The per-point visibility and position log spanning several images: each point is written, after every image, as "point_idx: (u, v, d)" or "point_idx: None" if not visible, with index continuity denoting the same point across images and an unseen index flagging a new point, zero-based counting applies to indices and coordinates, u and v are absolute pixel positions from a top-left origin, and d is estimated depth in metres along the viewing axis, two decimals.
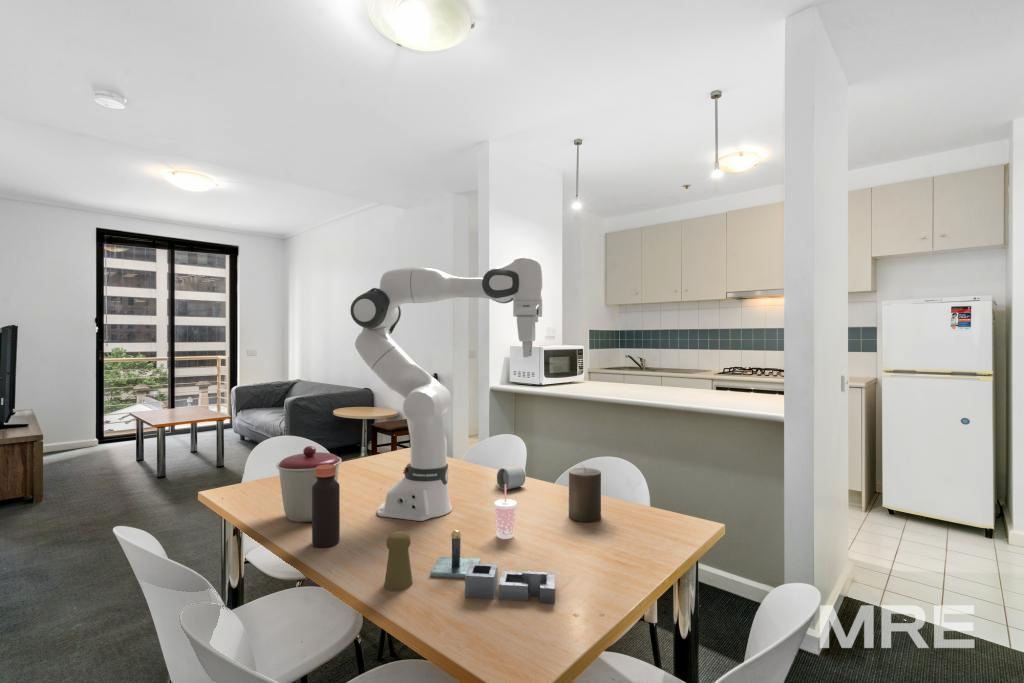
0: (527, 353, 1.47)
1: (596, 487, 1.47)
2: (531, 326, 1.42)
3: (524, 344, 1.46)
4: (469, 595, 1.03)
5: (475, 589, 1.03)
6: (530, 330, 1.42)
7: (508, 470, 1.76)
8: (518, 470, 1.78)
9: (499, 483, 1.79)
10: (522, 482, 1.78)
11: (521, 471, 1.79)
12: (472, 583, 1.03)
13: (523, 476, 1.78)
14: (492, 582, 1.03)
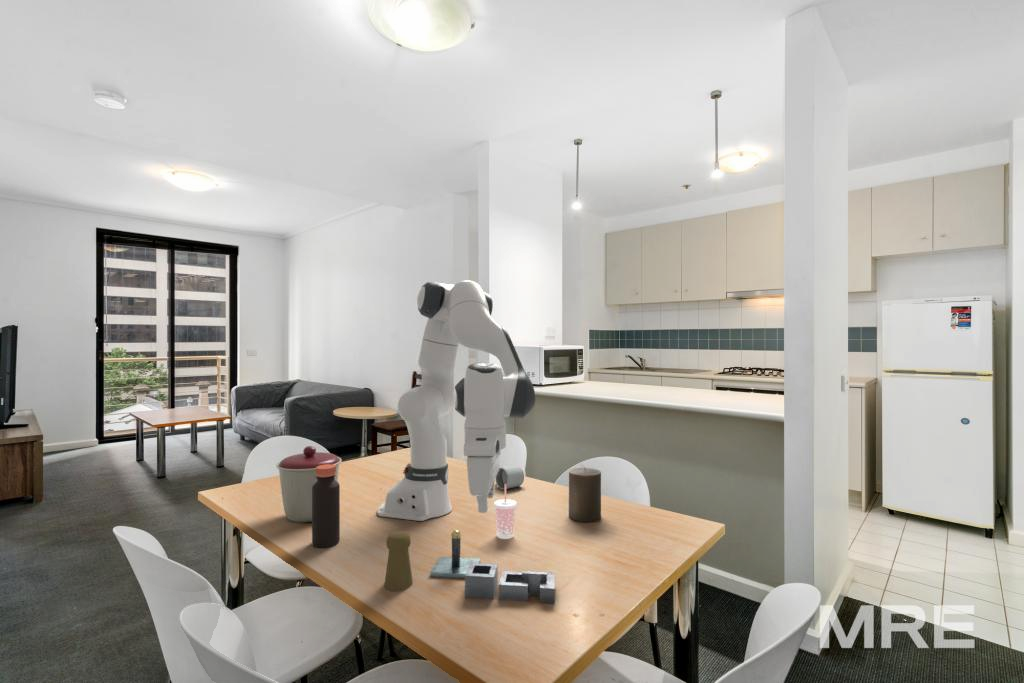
0: (484, 507, 1.01)
1: (596, 487, 1.47)
2: (487, 474, 0.97)
3: (479, 495, 1.00)
4: (469, 595, 1.03)
5: (475, 589, 1.03)
6: (486, 480, 0.97)
7: (507, 470, 1.77)
8: (517, 470, 1.79)
9: (498, 483, 1.80)
10: (521, 482, 1.79)
11: (520, 471, 1.79)
12: (472, 583, 1.03)
13: (522, 476, 1.79)
14: (492, 582, 1.03)
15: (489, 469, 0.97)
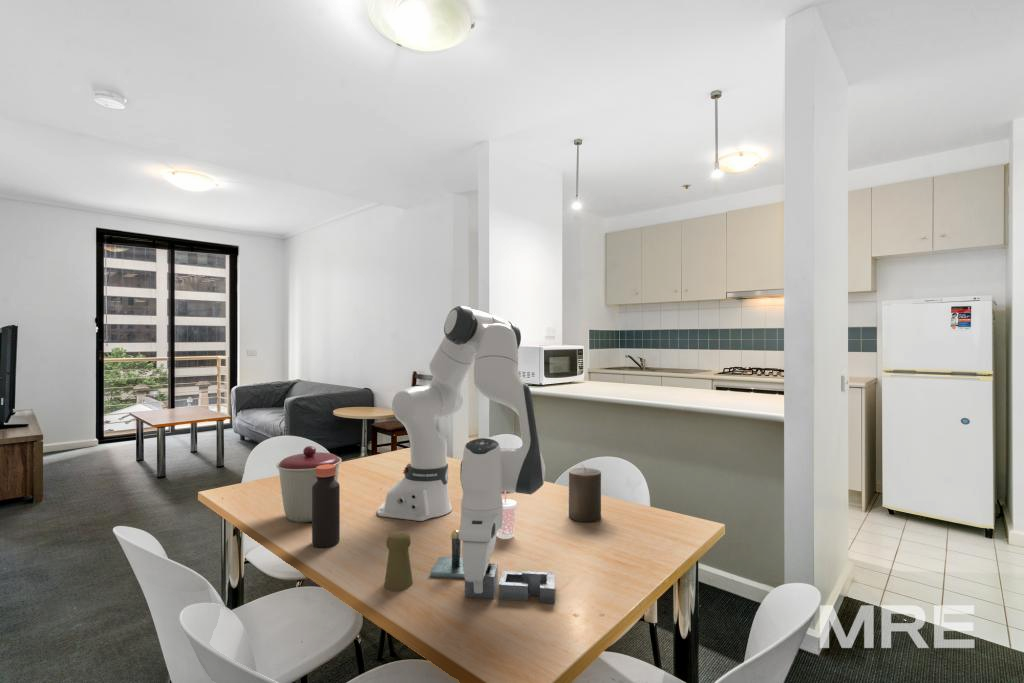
0: (479, 587, 1.02)
1: (596, 487, 1.47)
2: (482, 561, 0.96)
3: None
4: (469, 595, 1.03)
5: None
6: (481, 567, 0.96)
7: None
8: None
9: None
10: None
11: None
12: (472, 583, 1.03)
13: None
14: (492, 582, 1.03)
15: (484, 556, 0.97)
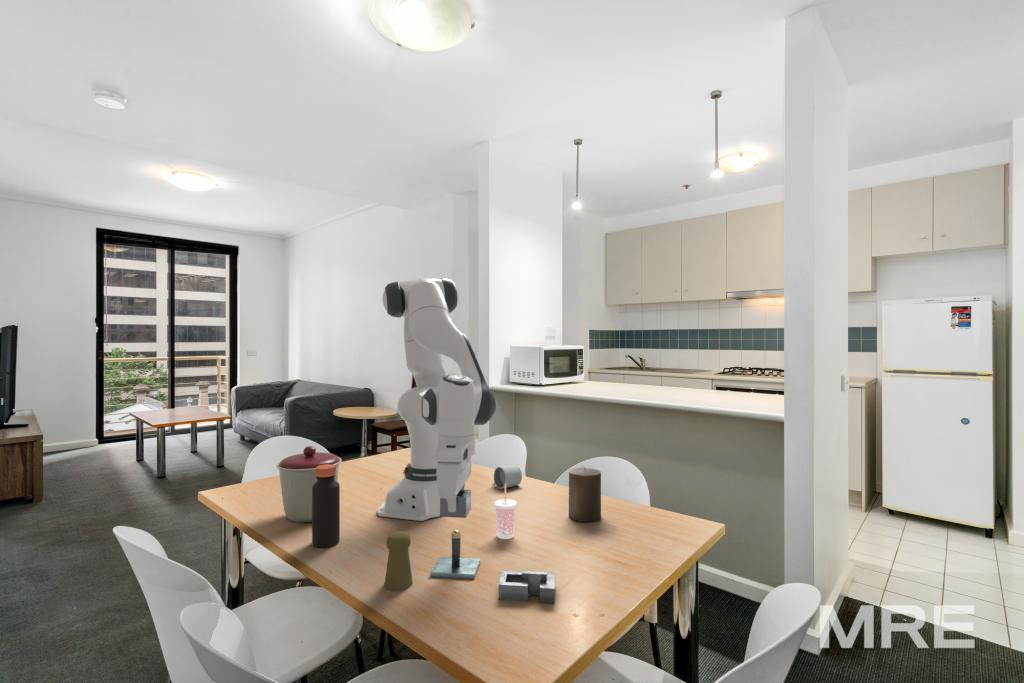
0: (453, 507, 1.11)
1: (596, 487, 1.47)
2: (454, 479, 1.06)
3: None
4: (443, 515, 1.13)
5: None
6: (453, 484, 1.06)
7: (505, 469, 1.78)
8: (515, 469, 1.80)
9: (496, 482, 1.81)
10: (519, 481, 1.80)
11: (518, 470, 1.80)
12: (446, 504, 1.13)
13: (520, 475, 1.80)
14: (465, 502, 1.13)
15: (456, 474, 1.06)
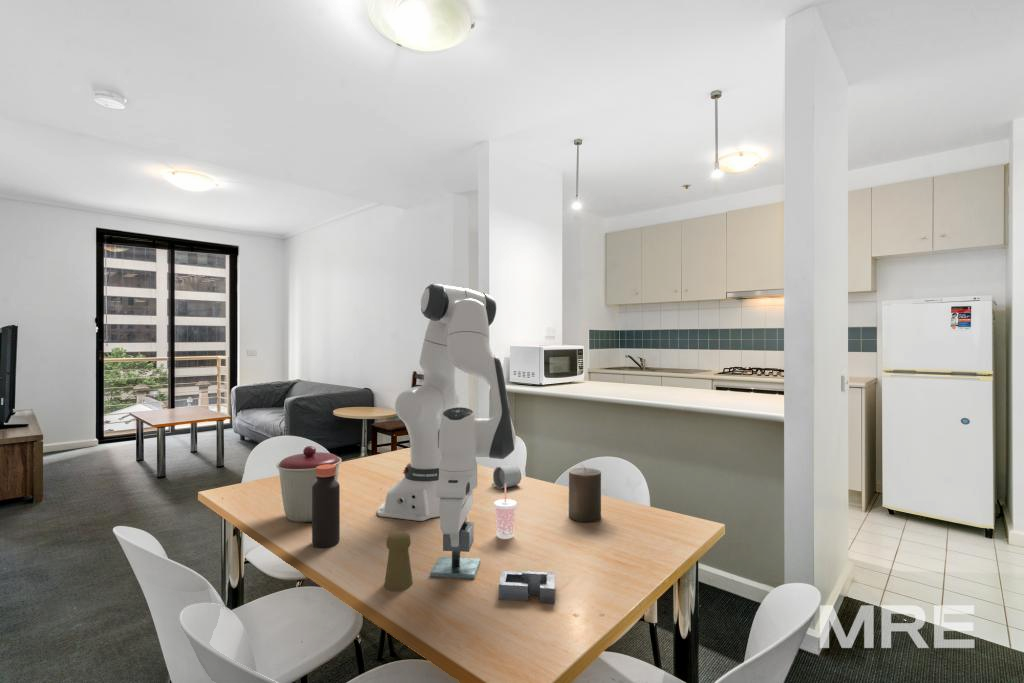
0: (456, 541, 1.11)
1: (596, 487, 1.47)
2: (457, 515, 1.06)
3: None
4: (447, 549, 1.13)
5: None
6: (456, 521, 1.06)
7: (504, 469, 1.78)
8: (514, 469, 1.80)
9: (495, 482, 1.81)
10: (518, 481, 1.80)
11: (517, 470, 1.80)
12: (449, 538, 1.13)
13: (519, 475, 1.80)
14: (467, 536, 1.13)
15: (459, 510, 1.06)
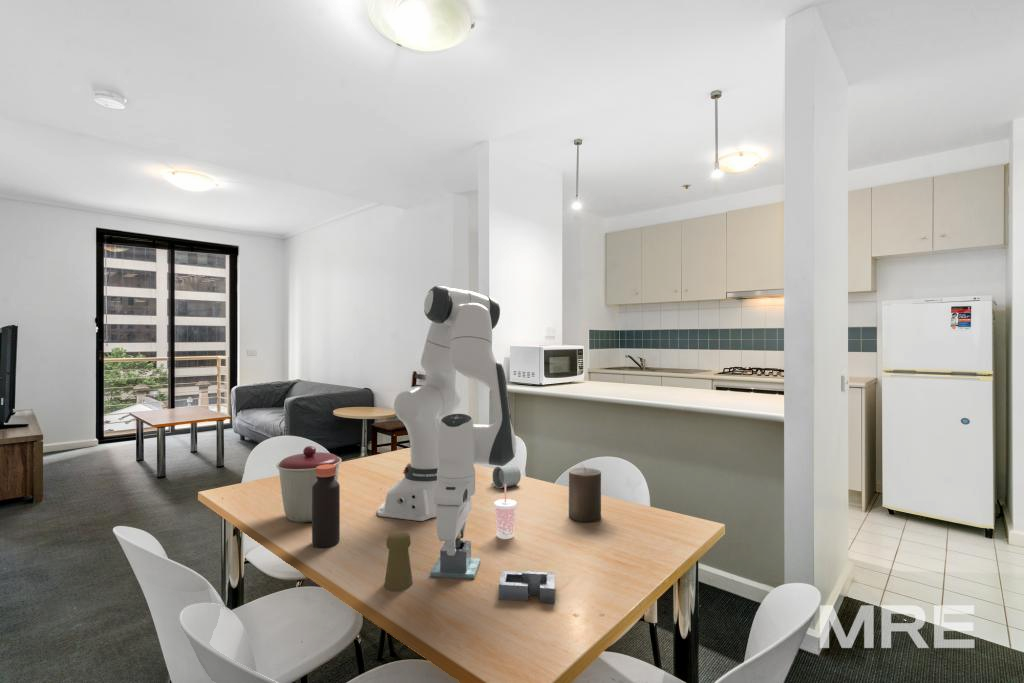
0: (452, 550, 1.10)
1: (596, 487, 1.47)
2: (454, 522, 1.06)
3: None
4: (444, 568, 1.13)
5: (449, 563, 1.13)
6: (453, 528, 1.06)
7: (503, 468, 1.78)
8: (513, 468, 1.80)
9: (495, 481, 1.82)
10: (517, 480, 1.80)
11: (516, 469, 1.81)
12: (447, 557, 1.13)
13: (518, 474, 1.80)
14: (465, 556, 1.13)
15: (456, 518, 1.06)
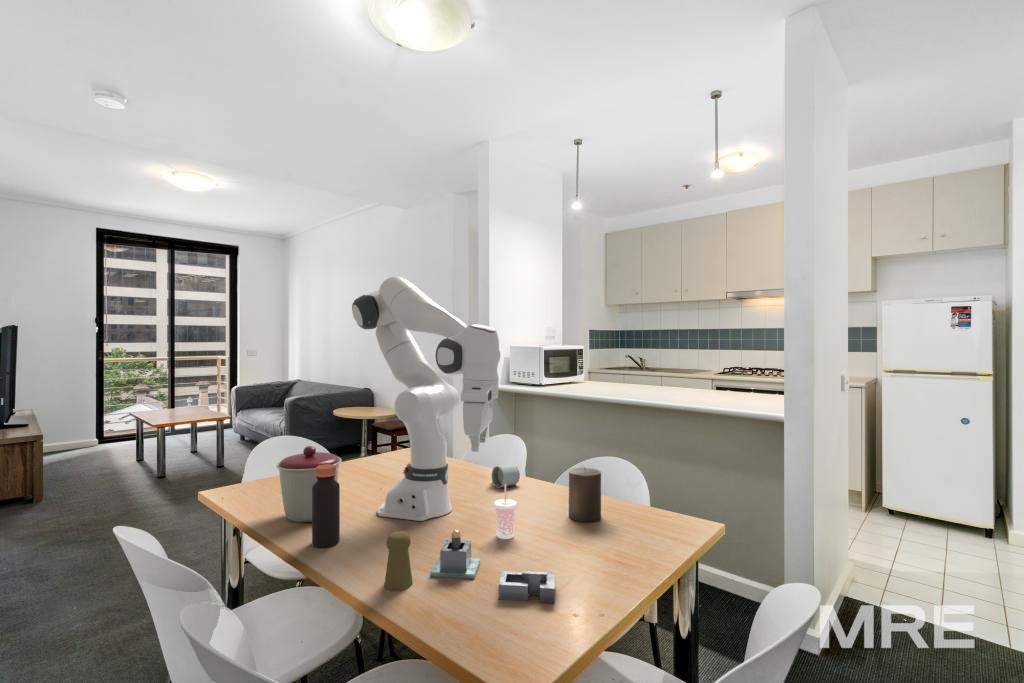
0: (476, 447, 1.18)
1: (596, 487, 1.47)
2: (480, 417, 1.14)
3: (472, 436, 1.17)
4: (444, 568, 1.13)
5: (449, 563, 1.13)
6: (478, 422, 1.13)
7: (502, 468, 1.78)
8: (513, 468, 1.81)
9: (494, 481, 1.82)
10: (516, 480, 1.80)
11: (515, 469, 1.81)
12: (447, 557, 1.13)
13: (517, 474, 1.81)
14: (465, 556, 1.13)
15: (481, 413, 1.14)
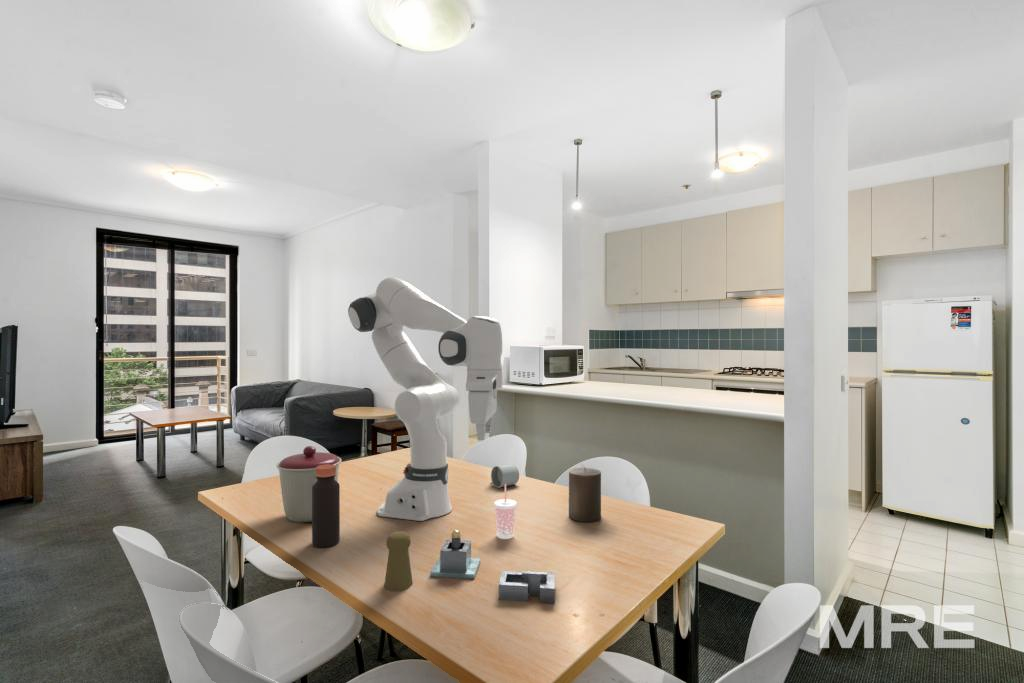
0: (482, 435, 1.20)
1: (596, 487, 1.47)
2: (485, 405, 1.15)
3: (478, 425, 1.19)
4: (444, 568, 1.13)
5: (449, 563, 1.13)
6: (484, 410, 1.15)
7: (502, 468, 1.79)
8: (512, 468, 1.81)
9: (493, 481, 1.82)
10: (516, 480, 1.81)
11: (515, 469, 1.81)
12: (447, 557, 1.13)
13: (517, 474, 1.81)
14: (465, 556, 1.13)
15: (487, 401, 1.15)
